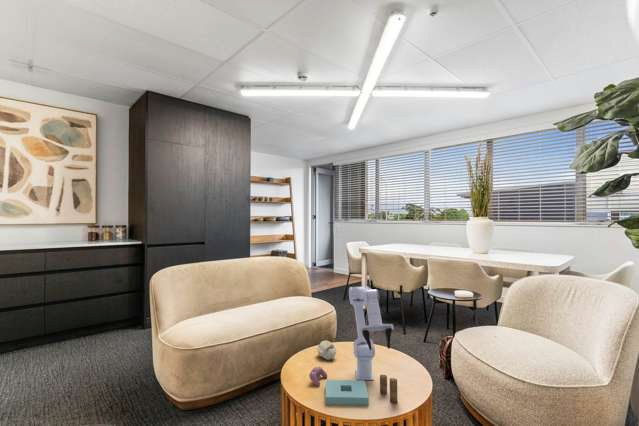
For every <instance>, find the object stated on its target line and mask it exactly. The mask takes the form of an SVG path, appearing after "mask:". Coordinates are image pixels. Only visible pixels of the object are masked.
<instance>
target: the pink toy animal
mask: <svg viewBox="0 0 639 426" xmlns="http://www.w3.org/2000/svg"><path fill="white" fill-rule="evenodd" d="M308 377H309V379H310V381H311V382H312V383H313V384H314V385H315V386H317V387H320V385H321V382H320V381H319V380H321V378H325V379H326V378H328V374H327V372H326V371H324V369H323V368H322V367H321V366H315V367H313V368H312V370H310V373H309V375H308Z"/></svg>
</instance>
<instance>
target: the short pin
mask: <svg viewBox="0 0 639 426" xmlns="http://www.w3.org/2000/svg"><path fill="white" fill-rule="evenodd" d="M379 393H380V394H381V395H387V394H388V375H386V374H380V375H379Z"/></svg>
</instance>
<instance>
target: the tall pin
mask: <svg viewBox="0 0 639 426" xmlns="http://www.w3.org/2000/svg"><path fill="white" fill-rule="evenodd" d="M389 402H390V403H391V404H398V402H399V401H398V379H397V378H395V377H391V378H389Z"/></svg>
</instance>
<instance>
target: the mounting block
mask: <svg viewBox="0 0 639 426" xmlns="http://www.w3.org/2000/svg"><path fill="white" fill-rule="evenodd" d="M368 394H369V393H368V390H367V384H366V380H357V379H354V380H353V379H352V380H351V379H346V380H345V379H325V405H336V406H337V405H340V406H341V405H343V406H347V405H348V406H369V404H370V403H369V402H370V401H369V400H370V399H369V395H368Z"/></svg>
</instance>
